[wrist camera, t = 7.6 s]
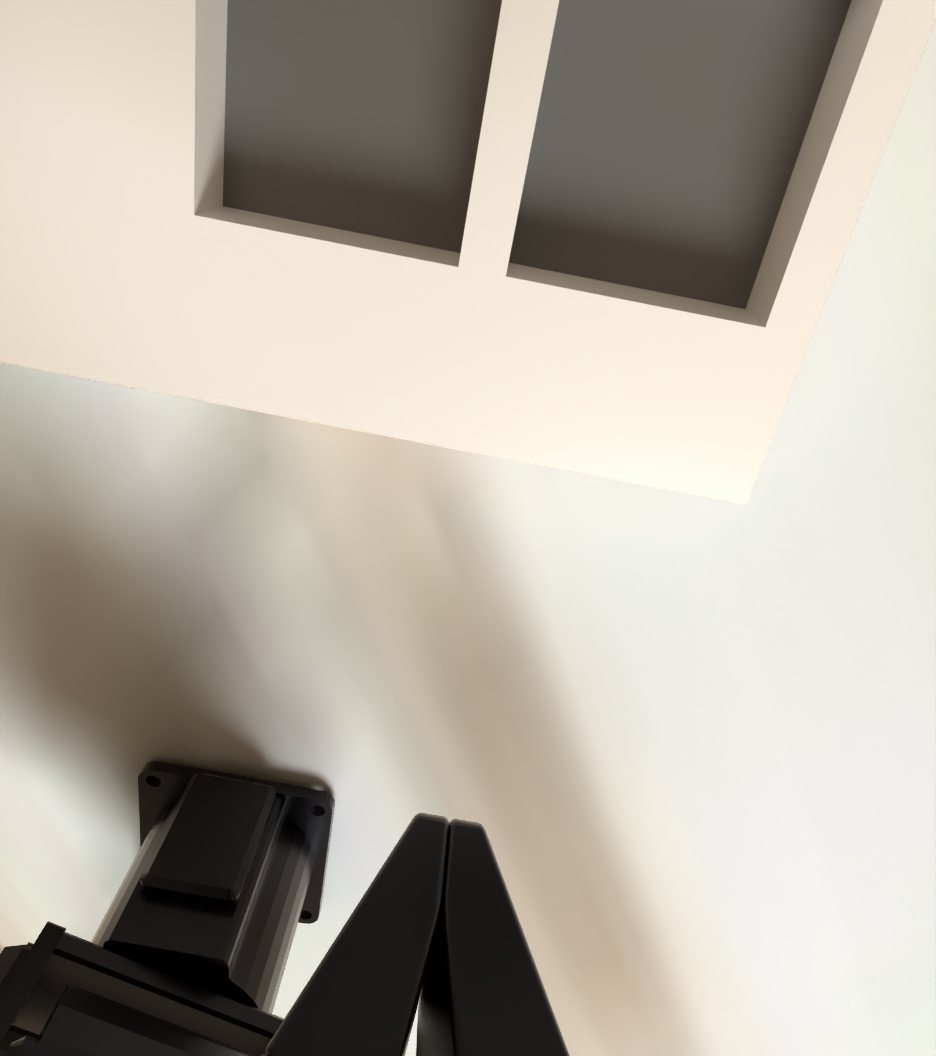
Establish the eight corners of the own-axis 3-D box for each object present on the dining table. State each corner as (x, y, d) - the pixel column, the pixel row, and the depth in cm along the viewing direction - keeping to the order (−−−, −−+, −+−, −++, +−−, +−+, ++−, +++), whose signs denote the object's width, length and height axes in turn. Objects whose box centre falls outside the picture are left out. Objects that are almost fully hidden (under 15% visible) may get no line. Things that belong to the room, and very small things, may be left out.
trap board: (727, 470, 20) (776, 559, 16) (-217, 288, 19) (-407, 335, 15) (999, -269, 13) (1198, -430, 9) (-423, -577, 13) (-851, -885, 9)
